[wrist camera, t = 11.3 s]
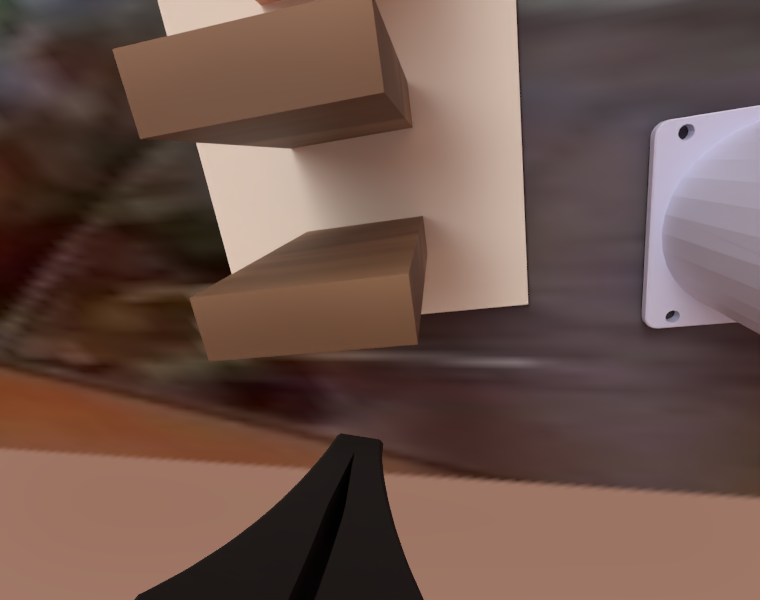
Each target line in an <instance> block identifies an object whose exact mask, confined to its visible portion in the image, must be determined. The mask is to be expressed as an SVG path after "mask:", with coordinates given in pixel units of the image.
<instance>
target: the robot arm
mask: <svg viewBox="0 0 760 600" xmlns="http://www.w3.org/2000/svg"><path fill="white" fill-rule="evenodd" d="M683 125H685V126H686V127H688V134H687V136H686V137H685V138H684V139H682V140H681V139H680V138H679V136H678V132H679V129H680V128H681V127H682V126H683ZM673 310H674V312H675V313H674V315H673V316H672V317H671V318H669V319H666V318H665V317H666V314H667V313H668V312H669V311H673ZM642 320H643V321H644V323H645V324H647V325H648V326H649V327H651V328H657V329H659V328H671V327H684V326H696V325H709V324H721V323H734V322H738V323H740V324H742V325H744V326H745V327H747V328H749V329H751V330H753V331H754V332H756V333H758V334H760V105H758V106H752V107H746V108H739V109H733V110H727V111H721V112H714V113H708V114H702V115H696V116H689V117H683V118H677V119H670V120H666V121H663V122H660V123H659V124H658V125H656V126H655V128H654V129H653V131H652V134H651V139H650V159H649V179H648V199H647V219H646V239H645V259H644V279H643V298H642ZM382 451H383V443H382V441H381V440H379V439H372V438H366V437H360V436H353V435H347V434H340V435H338V436H337V437H336V439H335V440H334V441H333V443H332V444H331V446H330V447H329V448H328V449H327V451H326V452H325V453H324V454H323V456H322V457H321V458H320V459H319V461H318V462H317V463H316V464H315V465H314V466H313V467H312V468H311V470H310V471H309V472H308V473H307V474H306V475H305V476H304V478H302V480H301V481H300V482H299V483H298V484H297V485H296V486H295V487H294V488H293V489H292V490H291V491H290V492H289V493H288V494H287V495H286V496H285V497H284V498H283V499H282V500H281V501H279V502H278V503H277V504H276V505H275V506H274V507H273V508H272V509H270V510H269V511H268V512H267V513H266V514H265V515H263V516H262V517H261V518H260V519H259V520H257V521H256V522H255V523H254V524H252V525H251V526H250V527H248V528H247V529H246V530H244V531H243V532H242V533H241V534H239V535H238V536H237V537H235V538H234V539H232V540H231V541H230V542H228V543H227V544H225V545H224V546H223V547H221V548H219V549H218V550H216V551H215V552H213V553H212V554H210V555H209V556H207V557H205V558H204V559H202V560H201V561H199V562H198V563H196V564H194V565H193V566H191V567H190V568H188V569H186V570H185V571H183V572H181V573H179V574H177V575H176V576H174V577H172V578H170V579H168V580H166V581H164V582H162V583H161V584H159V585H157V586H155V587H153V588H151V589H149V590H147V591H145V592H143V593H141V594H139V595H138V596H137V597H136V599H135V600H423V597H422V595H421V593H420V590H419V588H418V586H417V584H416V581H415V579H414V577H413V575H412V572H411V570H410V568H409V565H408V563H407V560H406V557H405V555H404V552H403V549H402V546H401V543H400V540H399V537H398V534H397V531H396V529H395V525H394V521H393V518H392V514H391V510H390V506H389V502H388V497H387V492H386V486H385V481H384V474H383V465H382Z"/></svg>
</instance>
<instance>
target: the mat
mask: <svg viewBox="0 0 760 600" xmlns="http://www.w3.org/2000/svg"><path fill="white" fill-rule="evenodd" d="M314 1H318V0H281V1H276V2H272V3H268V4H263V5H260V4H259V3H258V2H257V1H255V0H158V4H159V7H160V11H161V15H162V19H163V22H164V26H165V30H166V33H167V36H170V35H175V34H179V33H183V32H187V31H191V30H196V29H200V28H204V27H208V26H212V25H217V24H221V23H225V22H229V21H234V20H238V19H242V18H246V17H250V16H255V15H259V14H263V13H267V12H272V11H276V10H280V9H284V8H288V7H293V6H297V5H301V4H305V3H310V2H314ZM375 1H376V4H377V6H378V9H379V11H380V14H381V16H382V19H383V21H384V24H385V26H386V29H387V31H388V34H389V36H390V39H391V42H392V44H393V47H394V49H395V52H396V54H397V57H398V59H399V62H400V64H401V67H402V69H403V72H404V74H405V77H406V80H407V83H408V91H409V100H410V108H411V117H412V125H413V128H407V129H401V130H396V131H390V132H384V133H378V134H373V135H367V136H361V137H355V138H349V139H344V140H338V141H332V142H326V143H321V144H315V145H309V146H303V147H298V148H292V149H288V148H272V147H257V146H241V145H226V144H210V143H196V144H197V148H198V151H199V155H200V159H201V162H202V166H203V170H204V173H205V177H206V181H207V185H208V188H209V192H210V196H211V199H212V203H213V207H214V210H215V214H216V218H217V221H218V225H219V229H220V232H221V236H222V240H223V244H224V247H225V251H226V255H227V258H228V262H229V266H230V269H231V273H232V274H233V273H235V272H237V271H239V270H240V269H242V268H244V267H246V266H247V265H249V264H251V263H253V262H255V261H256V260H258V259H260V258H262V257H263V256H265V255H267V254H269V253H270V252H272V251H274V250H276V249H278V248H279V247H281V246H283V245H285V244H286V243H288V242H290V241H292V240H293V239H295V238H297V237H299V236H301V235H302V234H304V233H306V232H308V231H315V230H322V229H329V228H337V227H344V226H352V225H359V224H366V223H374V222H381V221H389V220H396V219H403V218H411V217H418V216H423V220H424V228H425V237H426V245H427V263H426V272H425V282H424V291H423V301H422V310H421V314H429V313H440V312H451V311H461V310H472V309H483V308H493V307H504V306H515V305H525V304H528V284H527V259H526V235H525V210H524V186H523V161H522V137H521V112H520V88H519V63H518V39H517V14H516V0H375Z"/></svg>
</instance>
